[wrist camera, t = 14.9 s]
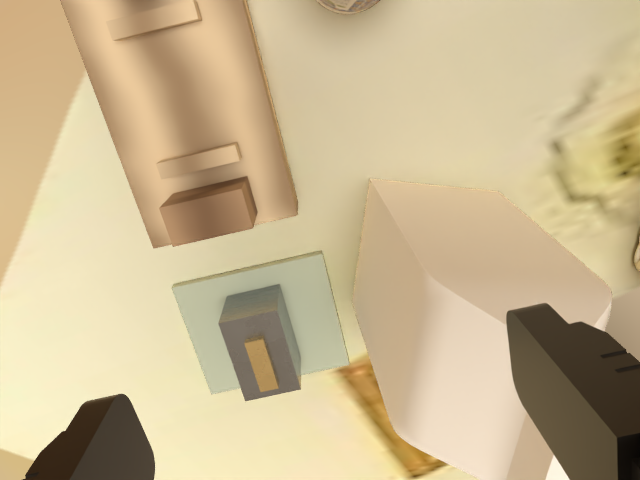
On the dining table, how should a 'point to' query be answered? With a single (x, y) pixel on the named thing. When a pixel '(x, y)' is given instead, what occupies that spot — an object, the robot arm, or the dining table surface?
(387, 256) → the milk
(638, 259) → the storage basket
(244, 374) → the lever cap
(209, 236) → the wooden peg board
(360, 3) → the bath foam
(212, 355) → the mat
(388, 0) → the dining table surface
